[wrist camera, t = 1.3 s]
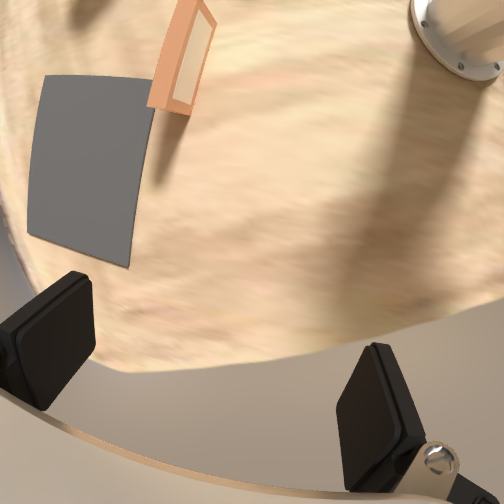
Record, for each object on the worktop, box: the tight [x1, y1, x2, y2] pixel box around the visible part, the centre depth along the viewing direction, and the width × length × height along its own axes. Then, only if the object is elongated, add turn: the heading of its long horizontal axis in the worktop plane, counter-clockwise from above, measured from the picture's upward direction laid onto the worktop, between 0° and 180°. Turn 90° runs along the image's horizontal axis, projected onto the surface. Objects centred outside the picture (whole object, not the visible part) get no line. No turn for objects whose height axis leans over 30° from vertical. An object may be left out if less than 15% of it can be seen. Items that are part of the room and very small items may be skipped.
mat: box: [27, 75, 155, 267], centre depth 30 cm, size 20×16×1 cm
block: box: [146, 0, 217, 116], centre depth 23 cm, size 10×2×7 cm, turn 166°
